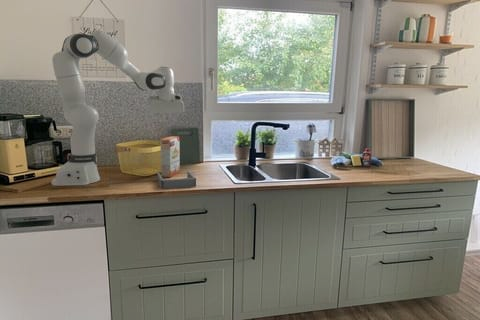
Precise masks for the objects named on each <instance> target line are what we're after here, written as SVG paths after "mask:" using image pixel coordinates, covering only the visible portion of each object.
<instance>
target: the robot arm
mask: <svg viewBox="0 0 480 320" xmlns="http://www.w3.org/2000/svg"><path fill="white" fill-rule="evenodd" d="M93 54H97V55H99V56H100V57H101V58H103V59H104V60H106V61H107V62H108V63H110V64H112V65H113V66H115V67H117V69H119V70H120V71H122V72H123V73H124V74H125V75H126V76H128V77H129V79H131V80H132V81H133V82H134V84H135V86H136V87H137V88H138V89H139V90H141V91H143V92H144V91H158V95H156V96H153V95H152V96H149V97H147V103H148V112H149V113H150V114H153V113H154V114H160V113H161V116H162V117H163V121H165V122H167V121H170V118H171V117H172V114H173V113H174V114H177V113H178V114H182V113H185V104H184V103H185V102H184V101H183V96H181V95H179V94H177V93H175V90H174V89H175V87H174V85H175V76H174V70H172V68H170V67H167V66H159V67H158V68H157V69H155V70H153V71H149V72H144V71H141V70H140V69H138V68H137V67H136V66H135V65H134V64H133V63H131V61H129V55H128V54H129V52H128V50H127V49H126V48H125V47H124V45H123V44H121V43H120V42H119V41H118V40H117V39H115V38H114V37H112V36H111V35H109V34H108V33H107V32H104V31H103V30H99V29H96V30H94V31H92V32H91V33H90V34H86V33H73V34H70V35H69V36H67V37H66V38H65V39H64V41H63V44H62V47H61V50H60V51H57V52H56V53H54V54H53V56H52V61H51V62H52V66H53V72H54V76H55V78H56V83H57V85H58V88H59V91H60V94H61V95H60V96H61V100H62V107H63V108H62V109H63V117H64V118H65V120H66V121H67V122H68V124H71V125H72V132H71V136H70V150H71V153H67V155H66V157H67V158H66V159H67V162H65V163H64V164H63V165H61V166H60V167H59V168H58V169H57V170H56V174H55V178H53V179H52V180H51V183H50V184H51V185H52V186H54V187H55V186H56V187H57V186H59V187H60V186H67V187H68V186H87V185H89V184H93V183H97V182H99V181H100V180H101V177H100V174H99V170H98V165H97V164H98V157H97V153H96V144H95V143H96V142H95V136H96V127H97V124H98V122H99V118H100V115H99V112H98V110H97V109H95V107H94V106H92V105H89V104H87V102H86V101H87V100H86V91H87V90H86V87H85V83H84V80H83V77H82V72H81V69H80V67H79V66H80V65H79V62H80V60H81V59H86V58H89V57H91V56H92V55H93ZM166 114H168V117H166V116H165V115H166Z"/></svg>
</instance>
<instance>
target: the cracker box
mask: <svg viewBox="0 0 480 320" xmlns="http://www.w3.org/2000/svg"><path fill="white" fill-rule="evenodd" d="M180 139H181V138H180V136H176V135H175V136H174V135H172V136H168V137H167V136H166V137H164V138H162V139H160V175H161V177H162V178H172V177H173V176H175V175H176V174H178V173H180V171H181V170H180V169H181V168H180V163H181V162H180V159H181V158H180V157H181V155H180V142H181V141H180Z"/></svg>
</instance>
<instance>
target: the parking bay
mask: <svg viewBox="0 0 480 320" xmlns="http://www.w3.org/2000/svg"><path fill="white" fill-rule="evenodd" d="M186 172H187V178H177V179H176V178H172V179H163V177H161V172H159V171H158V172H157V173H156V174H157V175H156V176H157V177H156V179H157V182H158V184H159V186H160V188H161V189H163V190H164V189H176V188H189V187H197V178H196V177H195V175H194V174H193V173H192V172H191V171H190V170H187V171H186Z"/></svg>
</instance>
